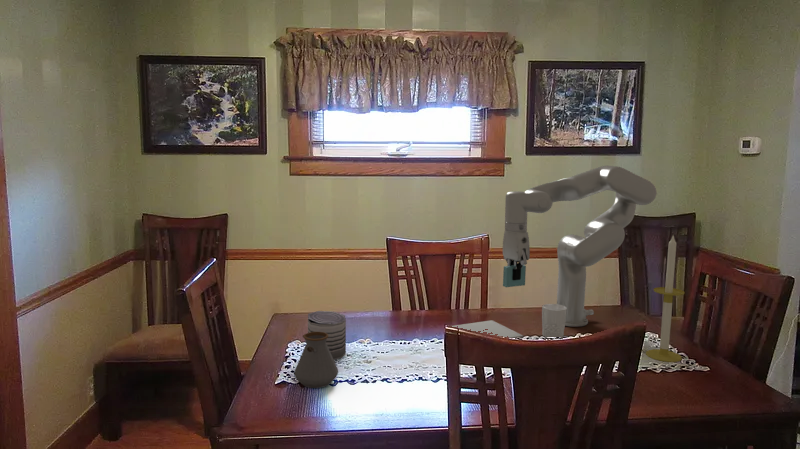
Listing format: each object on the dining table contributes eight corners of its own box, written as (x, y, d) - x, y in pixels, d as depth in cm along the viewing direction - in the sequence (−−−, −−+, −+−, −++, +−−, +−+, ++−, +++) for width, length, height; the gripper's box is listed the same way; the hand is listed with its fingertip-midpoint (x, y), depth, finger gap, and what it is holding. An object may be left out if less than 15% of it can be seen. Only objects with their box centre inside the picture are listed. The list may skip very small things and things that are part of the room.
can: (323, 345, 181) (323, 307, 179) (353, 352, 175) (353, 313, 173) (299, 356, 171) (299, 317, 169) (330, 364, 165) (330, 323, 164)
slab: (521, 284, 205) (522, 264, 204) (525, 285, 203) (525, 265, 202) (502, 286, 201) (503, 266, 200) (506, 287, 200) (507, 267, 199)
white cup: (567, 340, 188) (569, 310, 186) (543, 339, 188) (545, 310, 187) (561, 332, 196) (563, 303, 194) (538, 332, 196) (539, 303, 194)
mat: (491, 321, 206) (491, 320, 206) (522, 337, 190) (522, 335, 190) (445, 328, 198) (445, 326, 198) (474, 345, 182) (474, 343, 182)
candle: (685, 363, 169) (696, 237, 164) (649, 360, 171) (659, 235, 166) (676, 351, 179) (686, 232, 174) (642, 348, 181) (651, 230, 176)
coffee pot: (298, 373, 158) (297, 320, 156) (340, 373, 158) (339, 320, 156) (284, 408, 137) (283, 348, 135) (332, 409, 137) (332, 348, 135)
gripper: (539, 229, 194) (537, 282, 196) (511, 223, 208) (509, 273, 210) (520, 231, 191) (519, 285, 193) (493, 225, 205) (492, 275, 207)
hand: (514, 278), depth 202 cm, fingers closed on slab, 1 cm apart
